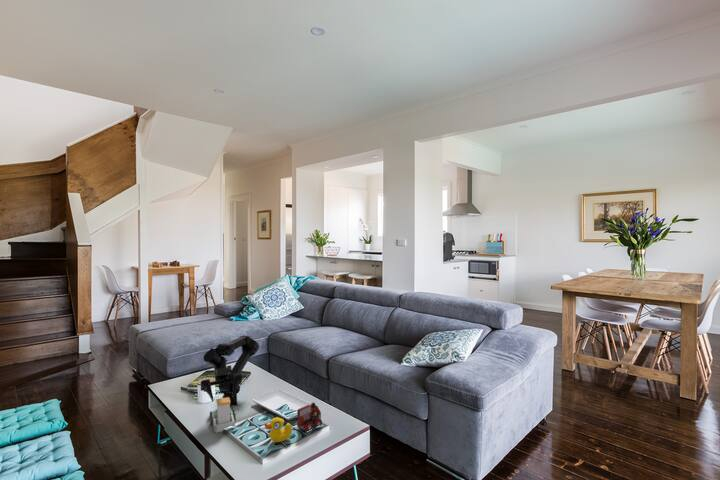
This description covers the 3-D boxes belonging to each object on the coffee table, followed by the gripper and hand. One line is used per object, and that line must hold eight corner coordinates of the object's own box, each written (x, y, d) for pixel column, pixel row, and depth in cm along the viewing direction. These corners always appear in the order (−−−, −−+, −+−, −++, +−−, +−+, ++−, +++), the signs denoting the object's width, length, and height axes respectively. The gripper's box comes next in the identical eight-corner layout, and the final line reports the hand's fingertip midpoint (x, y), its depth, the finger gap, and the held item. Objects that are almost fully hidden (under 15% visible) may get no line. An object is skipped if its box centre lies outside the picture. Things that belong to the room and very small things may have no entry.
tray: (287, 425, 173) (287, 418, 173) (251, 405, 194) (251, 398, 194) (316, 412, 185) (315, 405, 185) (278, 394, 206) (278, 388, 206)
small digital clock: (233, 412, 186) (233, 405, 186) (237, 427, 171) (237, 420, 171) (209, 417, 182) (209, 410, 182) (211, 433, 166) (211, 426, 166)
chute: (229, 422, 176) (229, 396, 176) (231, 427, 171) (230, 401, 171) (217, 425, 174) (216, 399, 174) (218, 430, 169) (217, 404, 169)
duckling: (266, 448, 154) (265, 423, 154) (263, 441, 159) (263, 418, 159) (293, 441, 159) (292, 417, 159) (290, 435, 164) (289, 412, 163)
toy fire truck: (325, 425, 172) (324, 402, 171) (303, 435, 163) (302, 412, 163) (315, 420, 176) (315, 398, 176) (294, 430, 168) (293, 407, 168)
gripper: (200, 363, 177) (202, 395, 167) (241, 357, 185) (245, 387, 175) (199, 374, 184) (201, 406, 174) (239, 368, 192) (243, 397, 182)
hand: (223, 399), depth 176 cm, fingers open, 9 cm apart
